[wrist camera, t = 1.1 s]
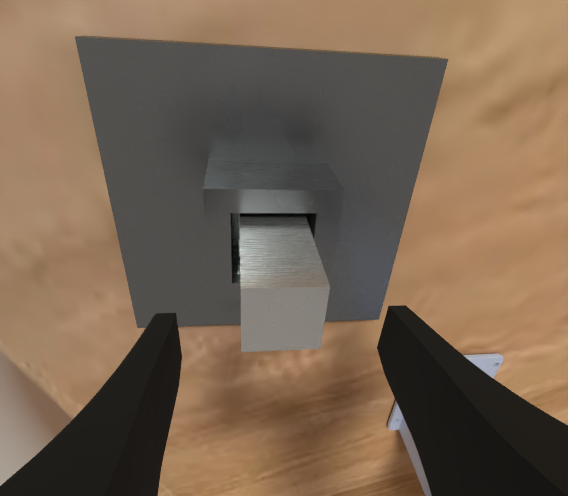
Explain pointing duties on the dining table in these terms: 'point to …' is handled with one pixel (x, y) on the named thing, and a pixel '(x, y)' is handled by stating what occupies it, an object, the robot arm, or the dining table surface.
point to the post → (280, 283)
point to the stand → (255, 163)
